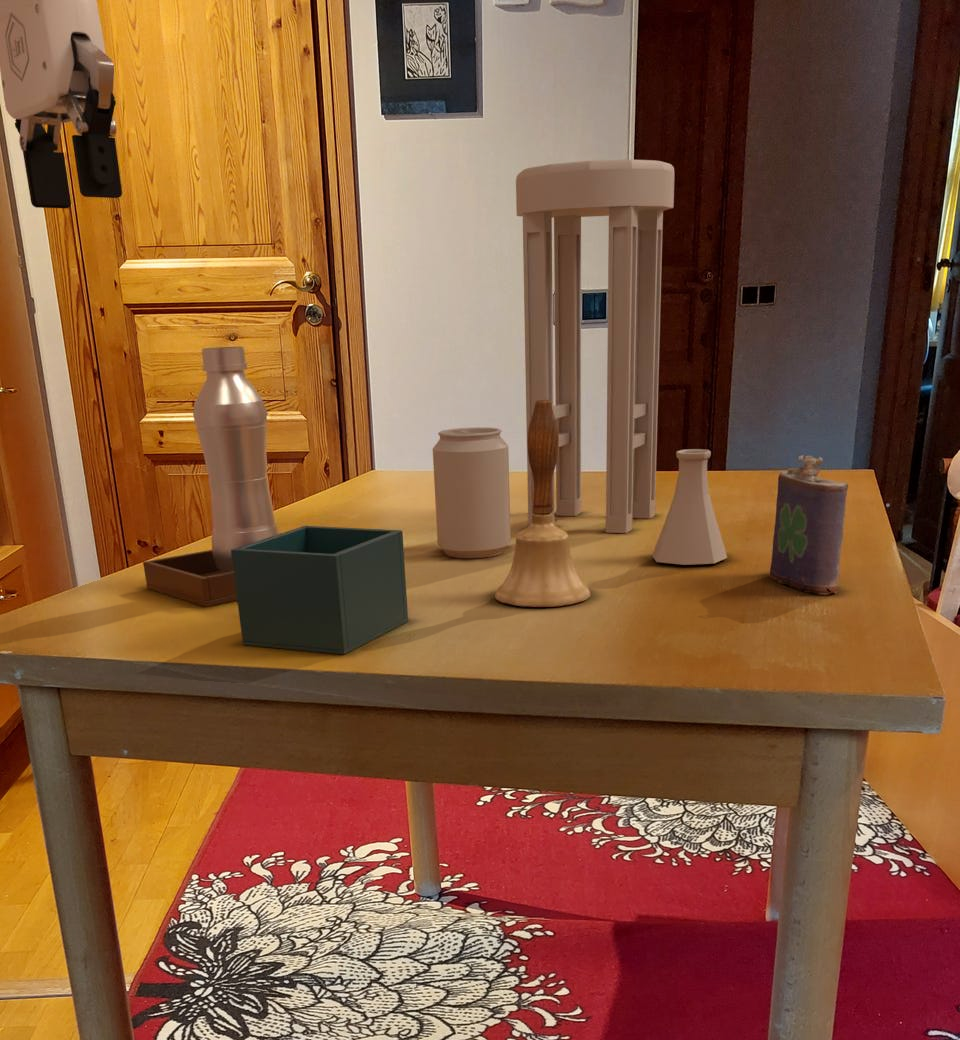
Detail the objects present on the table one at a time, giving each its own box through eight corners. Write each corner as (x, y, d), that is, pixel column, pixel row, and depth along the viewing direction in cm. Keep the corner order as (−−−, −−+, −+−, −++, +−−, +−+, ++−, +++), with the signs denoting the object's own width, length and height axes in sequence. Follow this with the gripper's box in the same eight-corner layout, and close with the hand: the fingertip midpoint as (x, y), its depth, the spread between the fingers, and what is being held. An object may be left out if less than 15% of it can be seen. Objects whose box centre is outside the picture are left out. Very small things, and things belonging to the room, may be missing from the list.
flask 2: (844, 593, 98) (856, 460, 94) (812, 597, 98) (823, 463, 93) (789, 572, 106) (798, 448, 102) (760, 575, 106) (767, 451, 101)
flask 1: (731, 553, 115) (737, 446, 111) (722, 568, 109) (728, 456, 104) (658, 551, 117) (661, 446, 113) (645, 566, 111) (647, 456, 107)
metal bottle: (300, 573, 111) (276, 345, 103) (245, 587, 107) (215, 349, 98) (255, 566, 115) (229, 345, 107) (200, 579, 111) (168, 350, 102)
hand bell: (561, 581, 106) (560, 394, 100) (608, 599, 100) (610, 399, 93) (479, 593, 103) (471, 401, 96) (521, 613, 97) (517, 407, 90)
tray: (205, 607, 103) (201, 578, 102) (146, 588, 110) (142, 561, 109) (355, 575, 112) (353, 549, 111) (291, 560, 120) (289, 535, 119)
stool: (504, 532, 130) (494, 167, 115) (552, 508, 142) (549, 178, 127) (639, 537, 124) (647, 154, 109) (676, 512, 137) (688, 167, 121)
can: (512, 558, 117) (509, 431, 111) (437, 561, 117) (430, 434, 111) (509, 543, 123) (506, 423, 118) (438, 546, 123) (432, 426, 118)
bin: (344, 654, 87) (335, 555, 84) (242, 644, 91) (230, 549, 88) (408, 621, 96) (402, 530, 92) (312, 613, 99) (304, 525, 96)
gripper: (-54, -43, 90) (-10, 210, 97) (31, -103, 78) (74, 190, 85) (41, -28, 94) (77, 212, 102) (136, -83, 82) (169, 194, 89)
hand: (76, 202), depth 93 cm, fingers open, 9 cm apart
